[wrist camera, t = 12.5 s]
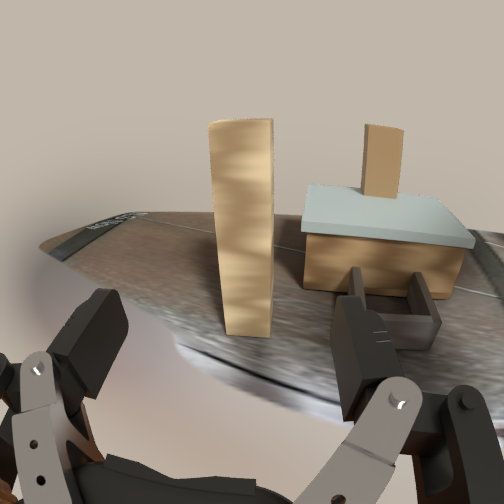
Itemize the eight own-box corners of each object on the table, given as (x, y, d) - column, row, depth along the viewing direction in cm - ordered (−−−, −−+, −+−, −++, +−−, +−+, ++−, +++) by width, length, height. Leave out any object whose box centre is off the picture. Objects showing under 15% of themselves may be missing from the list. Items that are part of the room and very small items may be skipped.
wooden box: (423, 249, 34) (432, 208, 31) (469, 348, 19) (498, 293, 16) (309, 239, 38) (312, 195, 35) (294, 341, 22) (299, 278, 19)
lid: (435, 205, 32) (444, 137, 27) (473, 248, 21) (493, 155, 17) (308, 191, 35) (309, 119, 31) (300, 231, 25) (303, 125, 21)
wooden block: (272, 309, 26) (273, 118, 18) (269, 337, 23) (269, 121, 15) (233, 307, 26) (221, 119, 18) (226, 334, 23) (208, 123, 15)
